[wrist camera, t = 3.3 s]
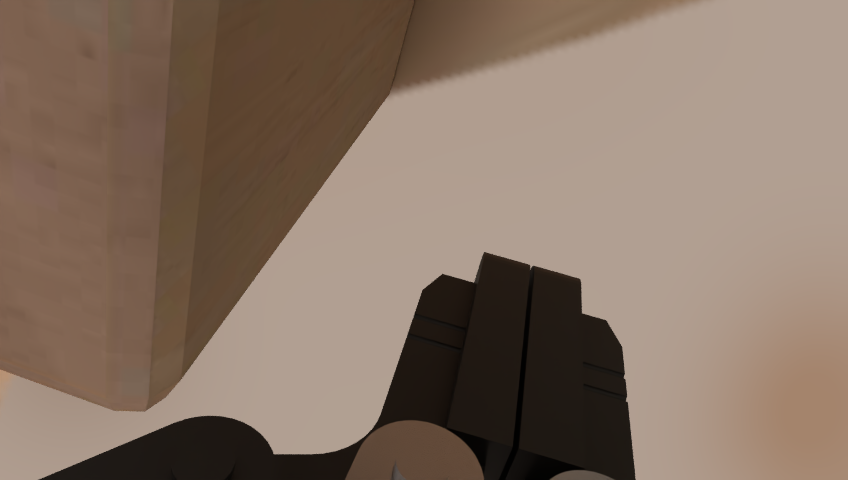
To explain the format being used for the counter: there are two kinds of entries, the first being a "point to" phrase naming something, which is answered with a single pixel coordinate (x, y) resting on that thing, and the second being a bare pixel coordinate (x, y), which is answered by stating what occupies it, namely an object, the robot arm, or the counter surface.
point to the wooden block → (164, 169)
